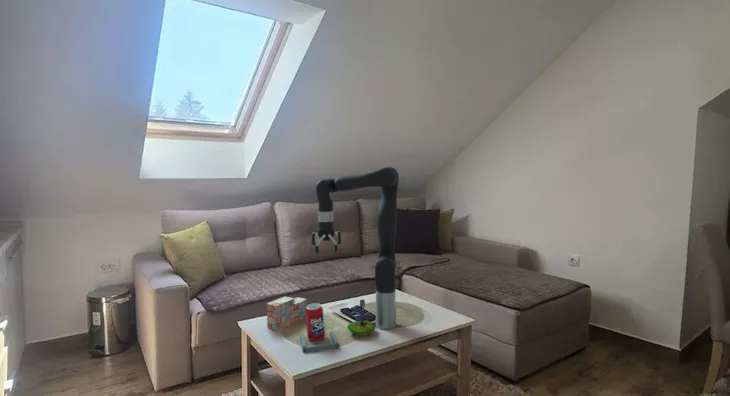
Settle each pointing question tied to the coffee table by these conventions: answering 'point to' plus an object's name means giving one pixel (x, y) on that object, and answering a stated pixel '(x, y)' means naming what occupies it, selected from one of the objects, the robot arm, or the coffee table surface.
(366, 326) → the pirate figurine
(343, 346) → the coffee table surface
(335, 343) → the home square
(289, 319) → the stack of blocks
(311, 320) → the soda can
